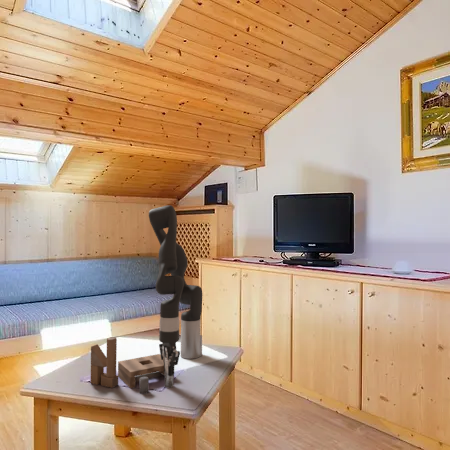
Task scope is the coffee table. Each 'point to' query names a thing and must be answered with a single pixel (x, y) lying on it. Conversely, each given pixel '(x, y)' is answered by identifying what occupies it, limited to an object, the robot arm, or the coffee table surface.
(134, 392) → the coffee table surface
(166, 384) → the long pin
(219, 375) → the coffee table surface
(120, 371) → the brown block with hole
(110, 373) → the brown angled frame
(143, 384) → the short pin
